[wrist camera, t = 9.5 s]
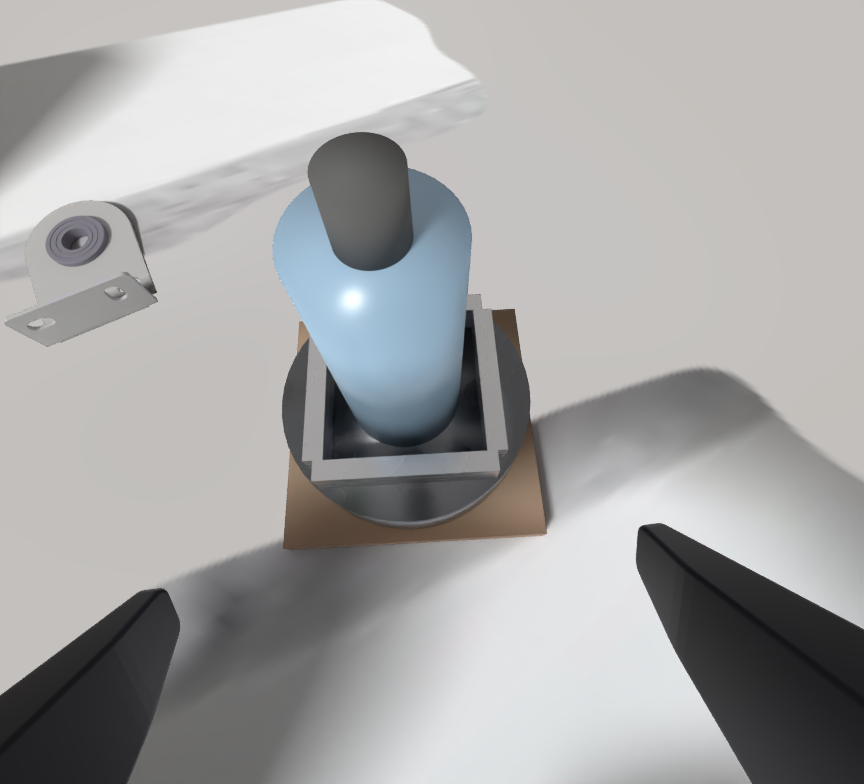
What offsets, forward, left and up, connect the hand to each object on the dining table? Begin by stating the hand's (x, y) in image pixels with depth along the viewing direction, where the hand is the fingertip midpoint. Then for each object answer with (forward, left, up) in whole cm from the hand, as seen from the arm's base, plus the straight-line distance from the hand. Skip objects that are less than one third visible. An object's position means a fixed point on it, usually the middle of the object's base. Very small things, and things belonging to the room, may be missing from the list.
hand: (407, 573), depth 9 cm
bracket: (+19, +21, -14) cm, 31 cm away
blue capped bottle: (+8, +1, -9) cm, 12 cm away
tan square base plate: (+8, +1, -13) cm, 15 cm away
